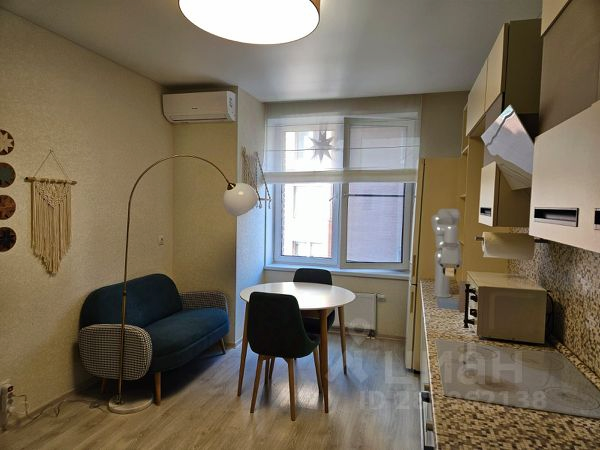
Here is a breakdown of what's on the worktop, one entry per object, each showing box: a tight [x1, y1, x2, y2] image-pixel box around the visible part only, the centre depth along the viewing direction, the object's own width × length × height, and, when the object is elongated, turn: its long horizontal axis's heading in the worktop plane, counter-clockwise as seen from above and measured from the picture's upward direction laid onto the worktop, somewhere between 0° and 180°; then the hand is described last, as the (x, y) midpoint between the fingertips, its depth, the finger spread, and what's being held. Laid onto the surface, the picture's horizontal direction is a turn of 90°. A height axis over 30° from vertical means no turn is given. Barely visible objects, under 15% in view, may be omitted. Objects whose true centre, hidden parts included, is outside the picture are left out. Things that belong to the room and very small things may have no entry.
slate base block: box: [436, 297, 459, 311], centre depth 230 cm, size 12×12×4 cm
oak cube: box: [445, 266, 455, 277], centre depth 228 cm, size 5×5×5 cm
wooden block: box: [458, 280, 468, 313], centre depth 218 cm, size 9×4×18 cm, turn 75°
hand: (449, 274), depth 228 cm, fingers closed on oak cube, 5 cm apart
